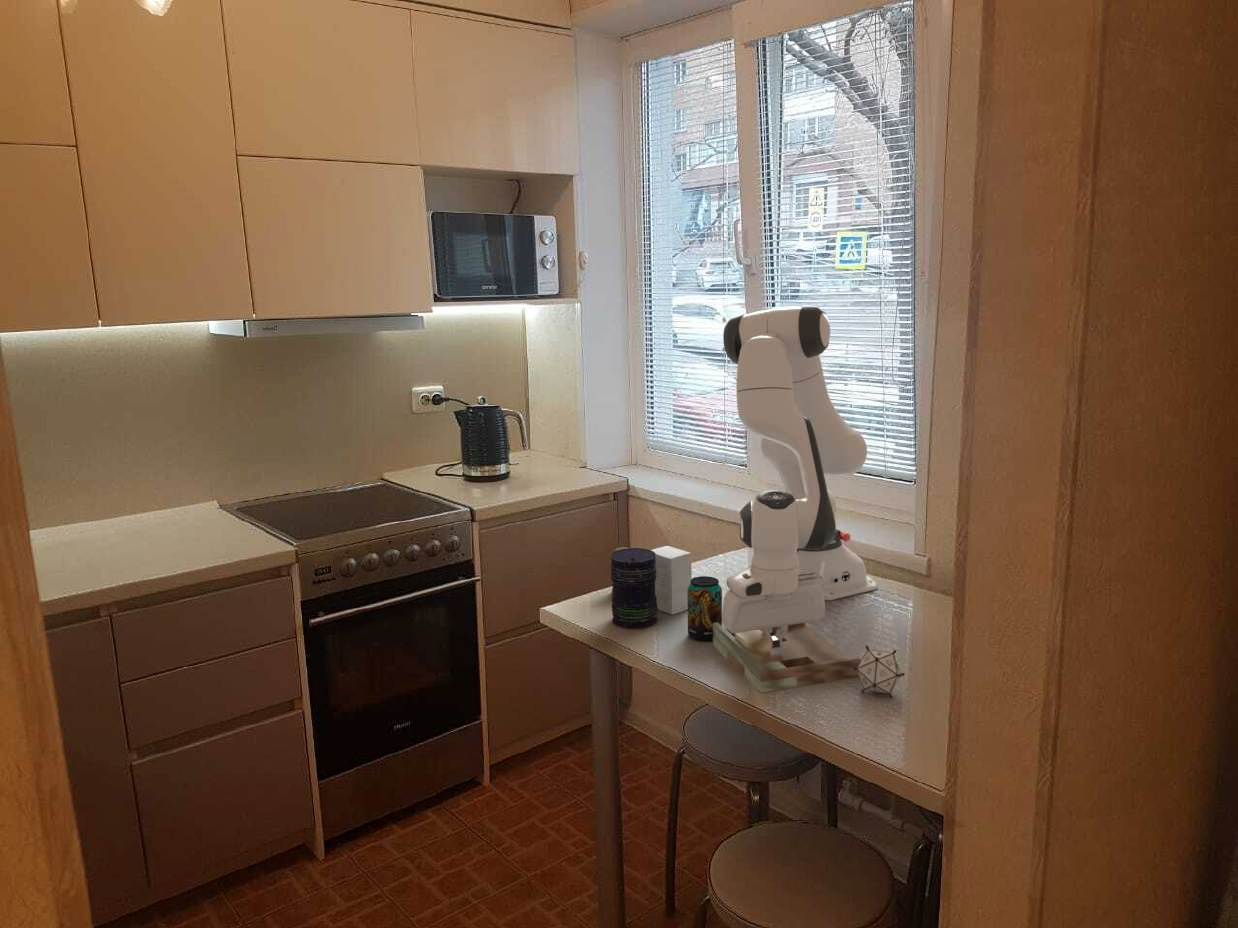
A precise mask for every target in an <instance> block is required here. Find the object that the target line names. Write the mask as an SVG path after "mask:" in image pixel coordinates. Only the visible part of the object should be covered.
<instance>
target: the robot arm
mask: <svg viewBox="0 0 1238 928" xmlns="http://www.w3.org/2000/svg"><path fill="white" fill-rule="evenodd" d="M722 337H723V338H722V339H723V346H724V351H725V354H726V356H727V357H728V359H729V360H730V361H732V362H733V364H735V365H737V370H736V383H735V384H736V385H735V386H736V405H737V413H738V418H739V420H740V421H741V423H742V425H743V426H744V427H745V428H746V429H747V430H749V431H750V432H751V433H753V434H754V435H756V436H759V437H760V438H761V441H760V449H761V453H762V455H763V458H764V459H765V460H766V461H767V463H769V465H771V466H772V468H773V469H774V470H775V472H776V473H777V476H778V478H779V480H780V482H781V484H782V487H783V490H784V491H782V490H775V489H774V490H766V491H762V492H760V493H758V494H757V495H756V496H755V498H754V500H750V501H749V502H747V503H746V504H745V505H744V506H743V507H742V508H741V510H740V511H739V515H740V530H739V539H740V540H741V541H742V543H744V544H745V545H746V546H747V547H748V548H750V549H753V551H752V552H753V553H752V557H751V560H750V561H751V563H750V565H749V566H748V567H746V568H744V569H743V570H741V571H738V572H736V573H735V574H732V575H730V576H728V577H727V578H726V587H727V588H728V589H729V590H727V591H726V593H725V594H724V598H723V601H722V626H723V627H724V628H726V629H727V630H728V631H730V632H731V633H740V632H747V631H753V630H760V629H761V631H762V633H764V634H765V635H766V636H768V637H769V638H770V639H771V649H772V648H779V647H782V639H783V638H784V636H785V634H786V632H787V631H788V625H793V624H799V623H805V624H806V623H809V622H811V623H812V622H818V621H821V620H823V619H824V617H825V615H826V604H825V603H826V602H825V601H834V600H837V599H841V598H846V597H849V596H854V595H857V594H858V595H859V594H862V593H866V592H871V591H875V590H877V583H876V581H875V580H874V579H873V578H872V577H870V576H868V575H867V570H866V565H865V562H864V561H863V559H862V558H861V557H860V556H859V555H857V554H856V553H854V552H853V551H852V550H851V549H849V548H848V547H846V546H845V545H844V544H843V543H842V541H843V542H846V543H847V542H849V541H850V540H851V538H852V537H851V534H850V533H849V532H846V531H841V530H839V529H837V521H836V517H837V516H836V515H837V514H836V512H837V508H836V507H837V501H836V497H835V495H834V494H833V492H832V491H831V490H829V488H827V482H826V479H825V475H827V476H847V475H848V476H849V475H850V476H851V475H855V474H857V473H858V472H859V471H860V470H861V469H862V468H863V465H864V464H865V462H866V459H867V456H868V455H867V454H868V448H867V447H868V446H867V443H866V440H865V439H864V436H863V435H862V434H861V433H860V432H858V431H857V430H856V429H854V428H853V427H851V426H850V425H849V423H847V422H846V421H845V420H844V419H843V417H842V416H841V415H840V413H839V412H838V411H837V408H836V407H835V405H834V404H833V403H832V400H831V398H830V396H829V393H828V388H827V385H826V380H825V375H824V371H823V366H822V360H821V357H820V355H822V354H823V353H824V352H825V351H826V350H827V348H828V347H829V343H830V338H831V325H830V322H829V319H828V316H827V313H826V312H825V310H823V309H822V308H821V307H819V306H816V305H809V304H806V305H805V304H803V305H802V306H785V307H784V306H783V307H773V308H771V309H765V310H764V309H763V310H760V311H755V312H751V313H748V314H746V313H741V314H738V315H736V316H733V317H731V318H729V320H728V321H727V322H726V324H725V326H724V329H723V335H722ZM773 627H777V628H778V630H777V632H776V634H775V636H773V637H771V635H770V633H772V628H773ZM769 632H770V633H769Z"/></svg>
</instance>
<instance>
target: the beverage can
mask: <svg viewBox="0 0 1238 928" xmlns="http://www.w3.org/2000/svg"><path fill="white" fill-rule="evenodd" d="M690 582H691V584H690V585H689V587H688V589H687V600H688V609H687V633H688V635H689V636H690V638H691V639H692V640H695V641H698V642H713V623H715V622H718V623H719V624H720V625H721V626H722V627H723V623H722V611H723V589H722V586H721V585H720V583H719V578H716V577H714V576H707V575H706V576H705V575H704V576H696V577H693V578H692V579H691V581H690Z"/></svg>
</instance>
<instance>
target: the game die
mask: <svg viewBox="0 0 1238 928" xmlns="http://www.w3.org/2000/svg"><path fill="white" fill-rule="evenodd" d="M865 650H866V651H865V653H864V655H863V657H862V658H861V659H860V663H859V665H858V667H857V668H856V667H853V668H852V669H853V670H857V672H858V675H859V676H858V678H859V680H860V683H861V685H862V688H863V689H861V691H860V693H861V694H863V693H865V692H866V691H869V692H873V693H874V692H875V693H882V694H887V695H888V697H889V698H890V699H893V695H892V692H893V689H894V688H895V687H896V685H897V683H898V680H899V679H900V678H901V677H904V676H906V673H904V672H902V671H901V670H900V668H899V667H900V666H899V665H898V662H897V659H896V655H895V654H896V653H897V649H893V650H892V652H888V651H881V650H873V649H870V648H869V646H868V645H867V644H866V645H865Z"/></svg>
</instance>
